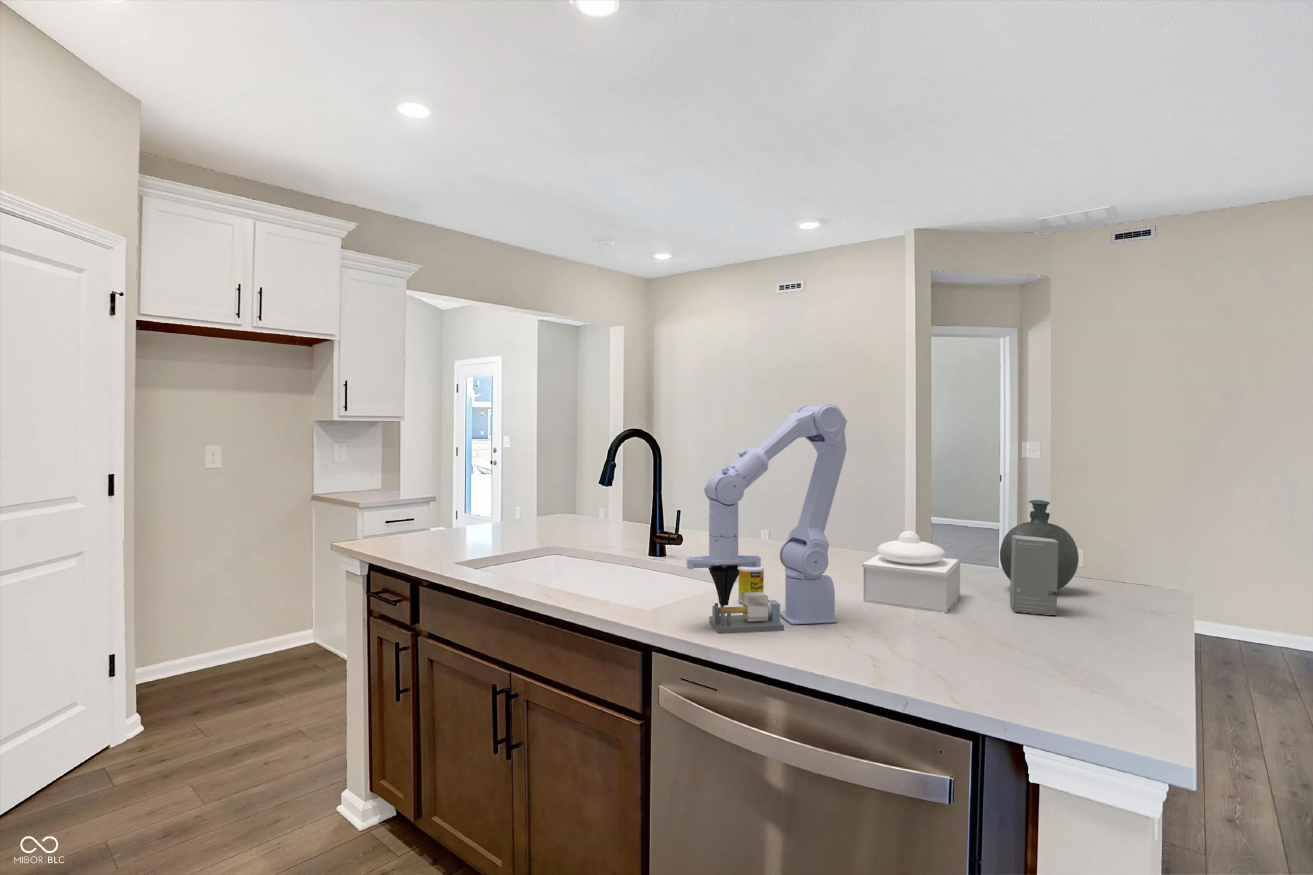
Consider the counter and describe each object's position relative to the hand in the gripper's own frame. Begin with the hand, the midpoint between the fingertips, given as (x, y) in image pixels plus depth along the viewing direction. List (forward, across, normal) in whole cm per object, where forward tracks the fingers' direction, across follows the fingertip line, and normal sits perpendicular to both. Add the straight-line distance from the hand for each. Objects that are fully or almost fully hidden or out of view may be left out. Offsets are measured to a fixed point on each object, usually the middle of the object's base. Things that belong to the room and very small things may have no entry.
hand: (723, 604), depth 129 cm
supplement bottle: (+5, -10, -17) cm, 21 cm away
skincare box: (+4, -68, -2) cm, 69 cm away
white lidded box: (+5, -48, -15) cm, 51 cm away
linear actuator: (+4, -4, 0) cm, 6 cm away
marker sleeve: (+3, -6, 0) cm, 7 cm away
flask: (+4, -82, -17) cm, 83 cm away
